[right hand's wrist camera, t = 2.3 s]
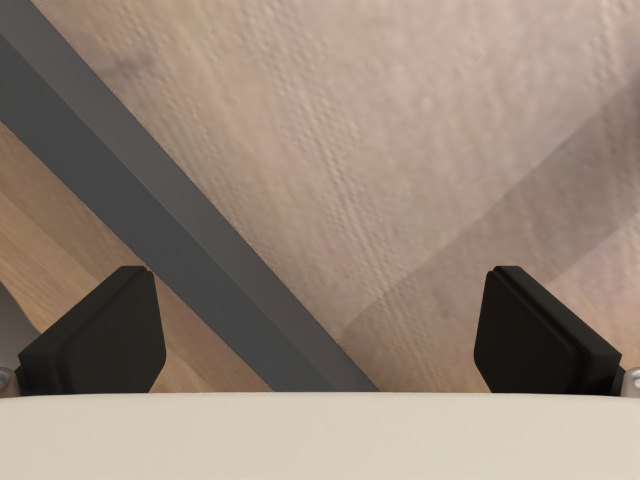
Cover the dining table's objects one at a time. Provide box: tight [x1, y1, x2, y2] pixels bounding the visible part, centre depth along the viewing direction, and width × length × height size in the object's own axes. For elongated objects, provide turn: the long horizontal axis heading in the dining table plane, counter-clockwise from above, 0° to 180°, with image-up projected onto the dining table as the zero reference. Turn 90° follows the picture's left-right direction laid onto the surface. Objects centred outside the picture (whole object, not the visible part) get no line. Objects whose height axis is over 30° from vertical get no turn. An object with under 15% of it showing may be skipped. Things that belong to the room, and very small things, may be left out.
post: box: [0, 0, 380, 392], centre depth 29 cm, size 75×4×7 cm, turn 38°
